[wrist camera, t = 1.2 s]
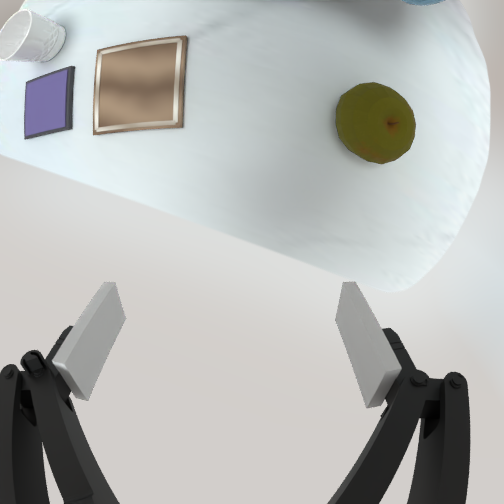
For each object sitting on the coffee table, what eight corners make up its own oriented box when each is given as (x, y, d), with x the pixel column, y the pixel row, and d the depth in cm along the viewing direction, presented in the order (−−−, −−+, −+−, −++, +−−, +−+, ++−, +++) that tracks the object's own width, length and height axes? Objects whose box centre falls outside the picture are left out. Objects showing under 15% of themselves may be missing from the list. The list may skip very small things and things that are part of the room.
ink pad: (29, 82, 27) (25, 81, 26) (74, 66, 28) (70, 65, 26) (28, 138, 32) (23, 139, 30) (72, 128, 32) (67, 129, 31)
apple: (316, 95, 32) (343, 84, 22) (378, 82, 31) (421, 73, 21) (337, 164, 36) (370, 180, 26) (396, 148, 35) (441, 160, 25)
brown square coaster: (100, 51, 27) (96, 49, 26) (187, 37, 28) (185, 35, 27) (96, 134, 33) (92, 135, 32) (182, 127, 33) (180, 127, 32)
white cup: (59, 14, 23) (24, 0, 14) (76, 38, 25) (38, 25, 16) (28, 48, 24) (-10, 43, 15) (42, 74, 27) (2, 71, 18)
